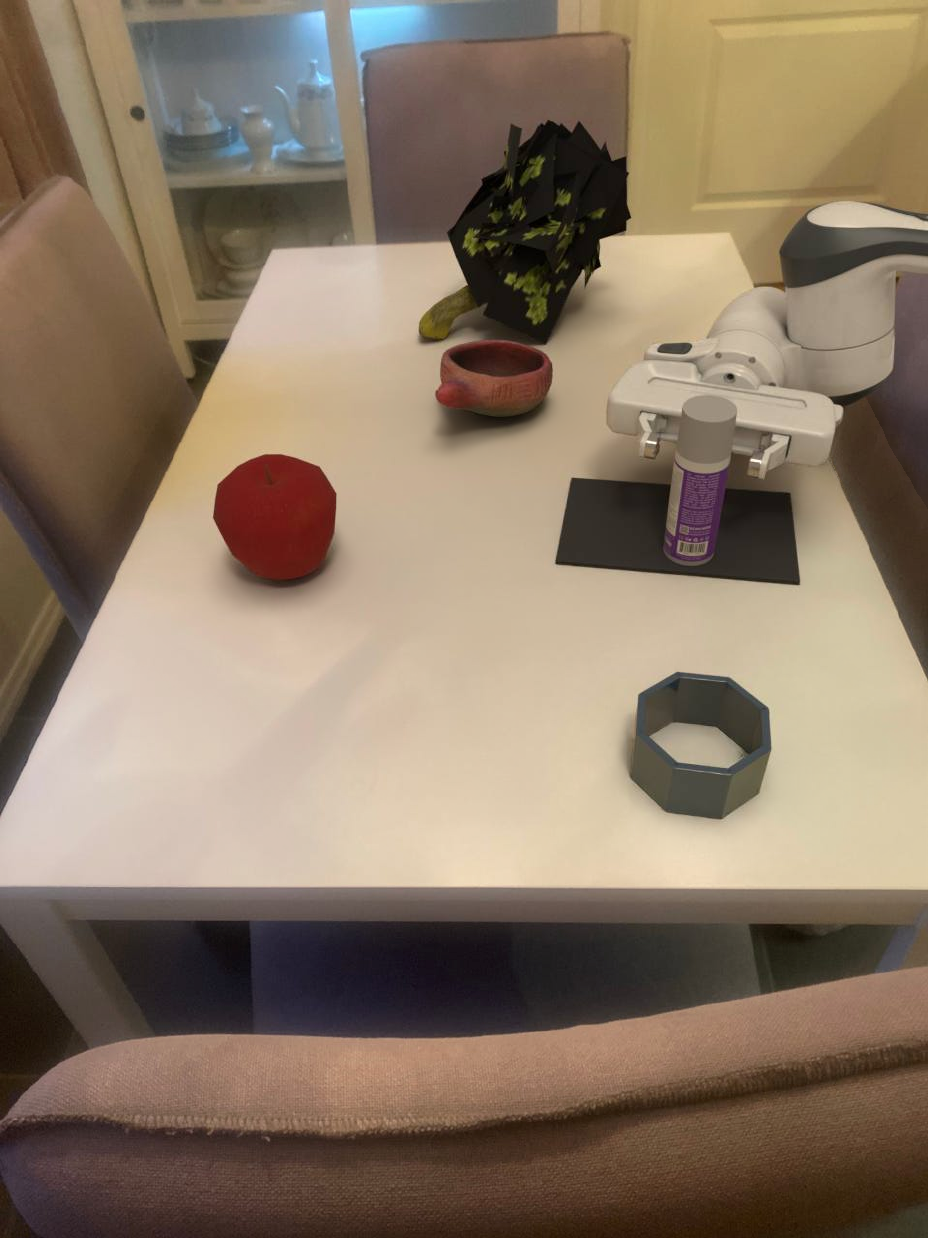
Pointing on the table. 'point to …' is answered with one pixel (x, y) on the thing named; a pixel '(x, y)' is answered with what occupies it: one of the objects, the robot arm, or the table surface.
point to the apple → (276, 515)
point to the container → (699, 479)
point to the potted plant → (534, 230)
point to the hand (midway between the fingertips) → (700, 461)
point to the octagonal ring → (703, 705)
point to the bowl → (494, 377)
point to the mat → (636, 522)
